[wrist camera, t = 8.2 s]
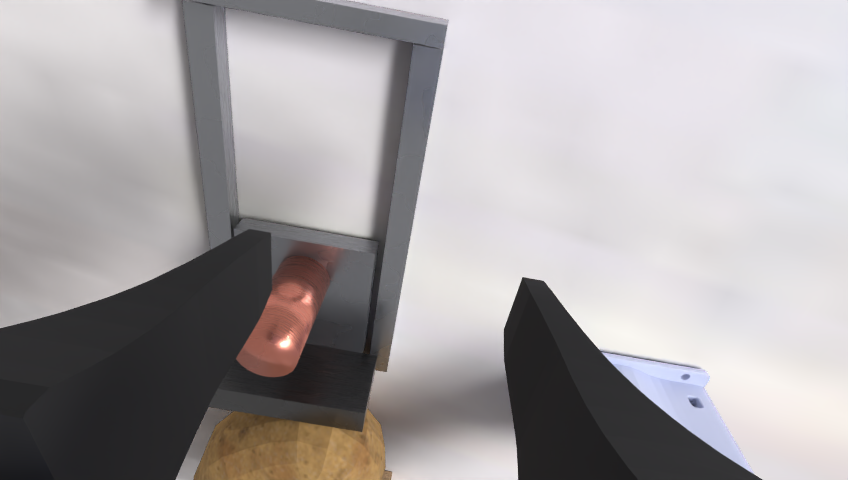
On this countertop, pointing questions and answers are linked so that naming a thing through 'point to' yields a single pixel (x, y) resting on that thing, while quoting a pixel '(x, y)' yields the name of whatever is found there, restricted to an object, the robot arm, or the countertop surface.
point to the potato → (291, 450)
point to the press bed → (212, 105)
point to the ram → (308, 332)
